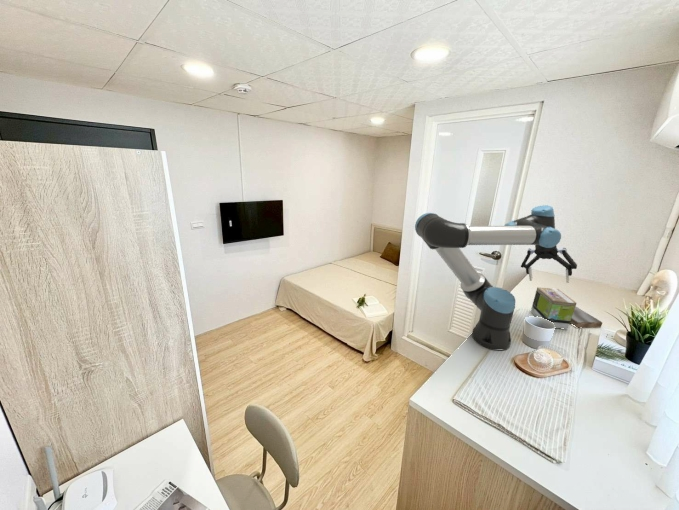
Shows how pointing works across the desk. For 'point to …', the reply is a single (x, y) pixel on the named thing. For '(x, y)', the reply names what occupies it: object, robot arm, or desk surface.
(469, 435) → the desk surface
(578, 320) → the plate
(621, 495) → the desk surface
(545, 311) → the tea box
